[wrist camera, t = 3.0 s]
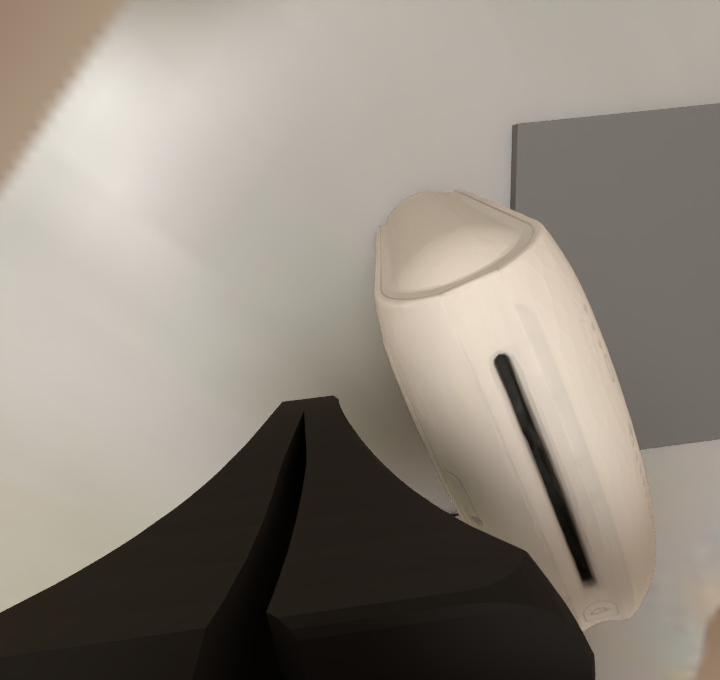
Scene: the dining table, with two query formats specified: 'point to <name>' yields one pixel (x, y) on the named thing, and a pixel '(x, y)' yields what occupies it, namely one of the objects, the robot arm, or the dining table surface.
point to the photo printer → (517, 395)
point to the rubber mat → (639, 250)
